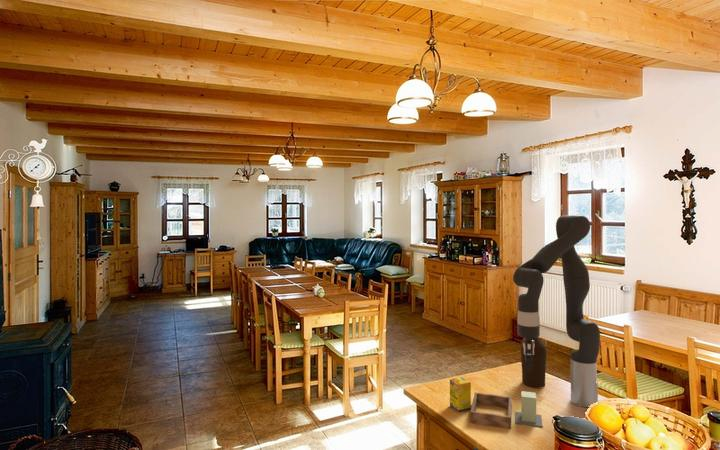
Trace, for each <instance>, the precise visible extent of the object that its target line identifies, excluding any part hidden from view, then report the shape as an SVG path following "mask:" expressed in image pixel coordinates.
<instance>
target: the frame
mask: <svg viewBox="0 0 720 450" xmlns="http://www.w3.org/2000/svg"><path fill="white" fill-rule="evenodd" d="M512 401H513V399H512V396H507V395H499V394H491V393H482V392H476V391H475V392H474V395H473V399H472V402H471V409H470V415H469V416H470V423H471V424H478V425H484V426H489V427H497V428H504V429H512V411H513V410H512V406H513V405H512V403H513V402H512ZM478 404H479V405H485V406H486V405H487V406H492V407H493V406H494V407H501V408H508V409H507V410H508V411H507V412H508V415H504V414H496V413H491V412H490V413H489V412H481V411H478V410H477V406H478Z"/></svg>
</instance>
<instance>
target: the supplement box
mask: <svg viewBox="0 0 720 450" xmlns="http://www.w3.org/2000/svg"><path fill="white" fill-rule="evenodd" d="M471 383H472V382H471V381H470V380H469V381H468V379H466V378H464V377H463V376H458V377H454V378H450V379H449V406H450V407H451V408H452V409H454V410H456V412H457V413H461V412H465V411H471V407H472V401H471V400H472V399H471V398H472V396H471V395H472V392H471V390H472V389H471V388H472V387H471V386H472V384H471Z"/></svg>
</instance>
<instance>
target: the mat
mask: <svg viewBox="0 0 720 450" xmlns="http://www.w3.org/2000/svg"><path fill="white" fill-rule="evenodd" d="M515 424H517V425H525V426H529V427H538V428H543V418H542V414H537V413H536V423H534V422H526V421H522V420H521V411H515Z"/></svg>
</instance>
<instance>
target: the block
mask: <svg viewBox="0 0 720 450" xmlns="http://www.w3.org/2000/svg"><path fill="white" fill-rule="evenodd" d="M520 403H521V404H520V405H521V407H520V409H521V410H520V412H521V420H522V421H526V422H534V423H536V414H537V393H536V392H533V391H524V390H521V392H520Z"/></svg>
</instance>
